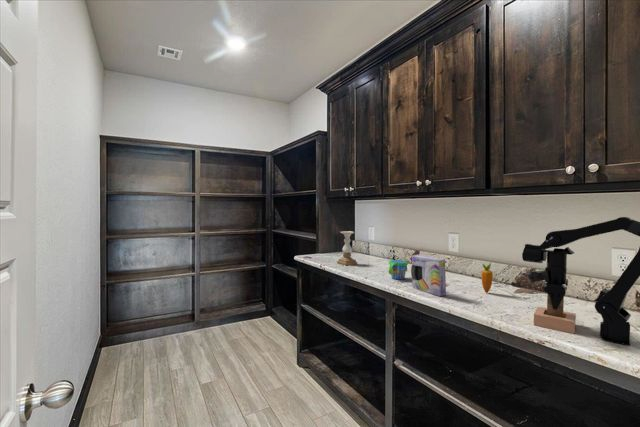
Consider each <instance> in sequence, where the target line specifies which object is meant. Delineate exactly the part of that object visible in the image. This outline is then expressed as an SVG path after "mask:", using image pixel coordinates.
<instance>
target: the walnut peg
mask: <svg viewBox="0 0 640 427" xmlns="http://www.w3.org/2000/svg"><path fill="white" fill-rule="evenodd" d="M546 294H547V295H546V296H547V298H546V299H547V300H546V301H547V302H546V308H547V315H551V316H556V317H561V318H563V311H564V307H565V306H564V305H565V304H564V303H565V300H564V298H565V296H564V297H563V299H562V301H561V303H560V305H559V306H558V308H557V310H555V309H553V307H552V303H551V299H550V295H549V294H548V293H547V292H546Z"/></svg>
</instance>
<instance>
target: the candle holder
mask: <svg viewBox="0 0 640 427" xmlns="http://www.w3.org/2000/svg"><path fill="white" fill-rule="evenodd" d="M339 232H340V233H341V234H343V236H344V239H343V242H344V245H343V247H342V252H343V254H342V256H343V257H341V258H338V260H337V261H336V264H337V263H338V264H337V265H340V264H342V265H341V266H344V265H345V267H347V265H350V266H356V265H355V264H357V265H358V261H357V260H356V259H355V258H352V251H353V248H352V246H351V245H350V243H351V241H352V240H351V238H350V237H351V236H352V234H355V232H354V231H352V230H349V231H348V230H343V231H342V230H341V231H339Z"/></svg>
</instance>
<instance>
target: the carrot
mask: <svg viewBox="0 0 640 427" xmlns="http://www.w3.org/2000/svg"><path fill="white" fill-rule="evenodd" d="M482 267H483V270H481V284H482V288H483V290H484V292H485V293H486V294H488V293H489V291H490V290H491V287H492V285H493V278H494V277H493V276H494V274H493V271H491V270H490V269H491V267H492V263H491V262H489V264H487V265H486V264H484V263H482Z"/></svg>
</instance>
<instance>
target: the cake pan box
mask: <svg viewBox="0 0 640 427" xmlns="http://www.w3.org/2000/svg"><path fill="white" fill-rule="evenodd" d="M410 274H411V279H412V289H414V290H418V291H421V292H423V293H428V294H431V295H434V296H438V297H445V296H447V282H446V281H447V280H446V277H447V276H446V258H438V257H434V256H428V255H423V254H422V255H421V254H414V255H412V256H411V268H410Z"/></svg>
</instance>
